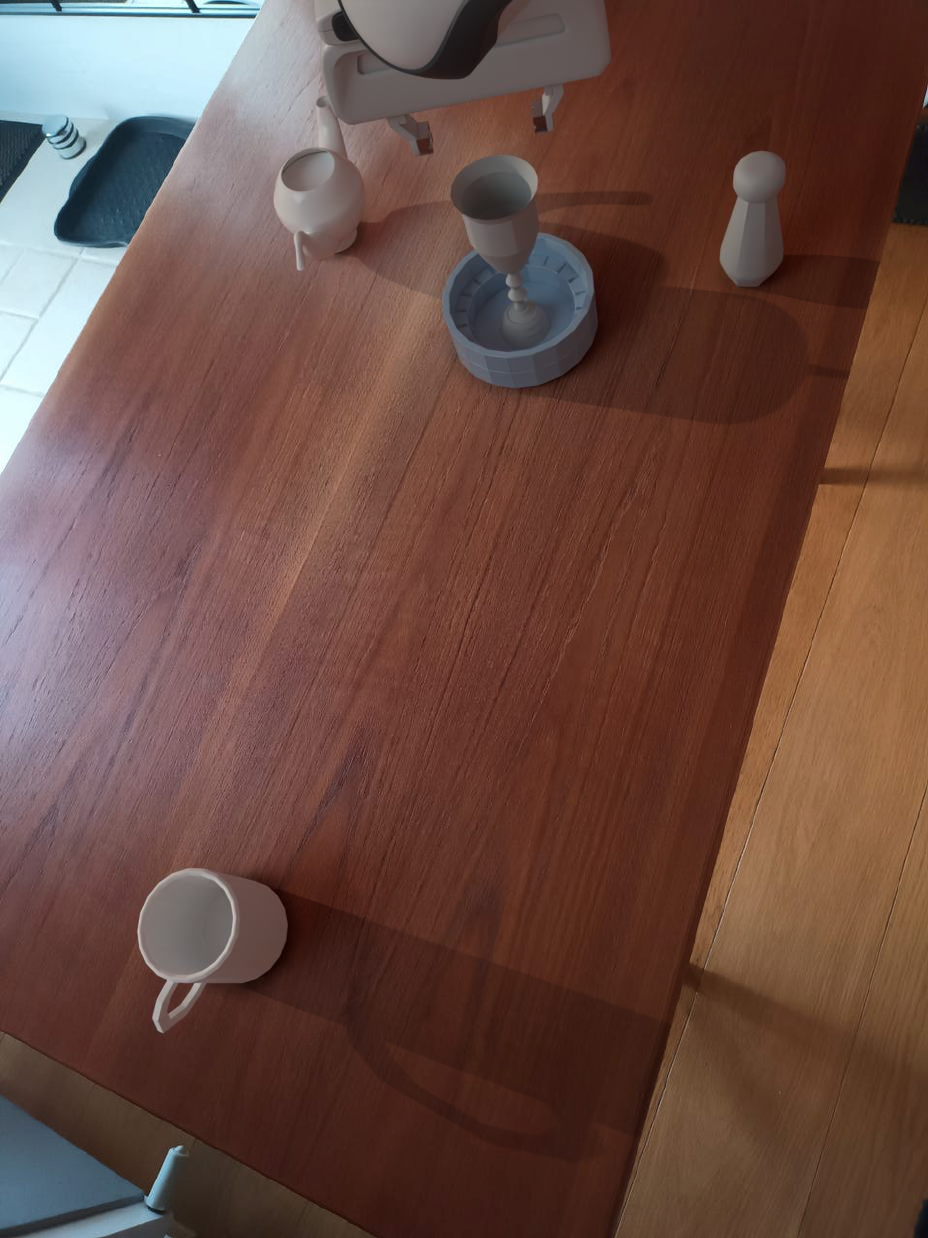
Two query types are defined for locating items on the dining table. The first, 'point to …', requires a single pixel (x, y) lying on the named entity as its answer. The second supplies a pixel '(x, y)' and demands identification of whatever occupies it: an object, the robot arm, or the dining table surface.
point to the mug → (208, 934)
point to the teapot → (320, 193)
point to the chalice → (504, 234)
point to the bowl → (482, 299)
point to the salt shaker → (754, 221)
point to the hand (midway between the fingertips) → (483, 138)
